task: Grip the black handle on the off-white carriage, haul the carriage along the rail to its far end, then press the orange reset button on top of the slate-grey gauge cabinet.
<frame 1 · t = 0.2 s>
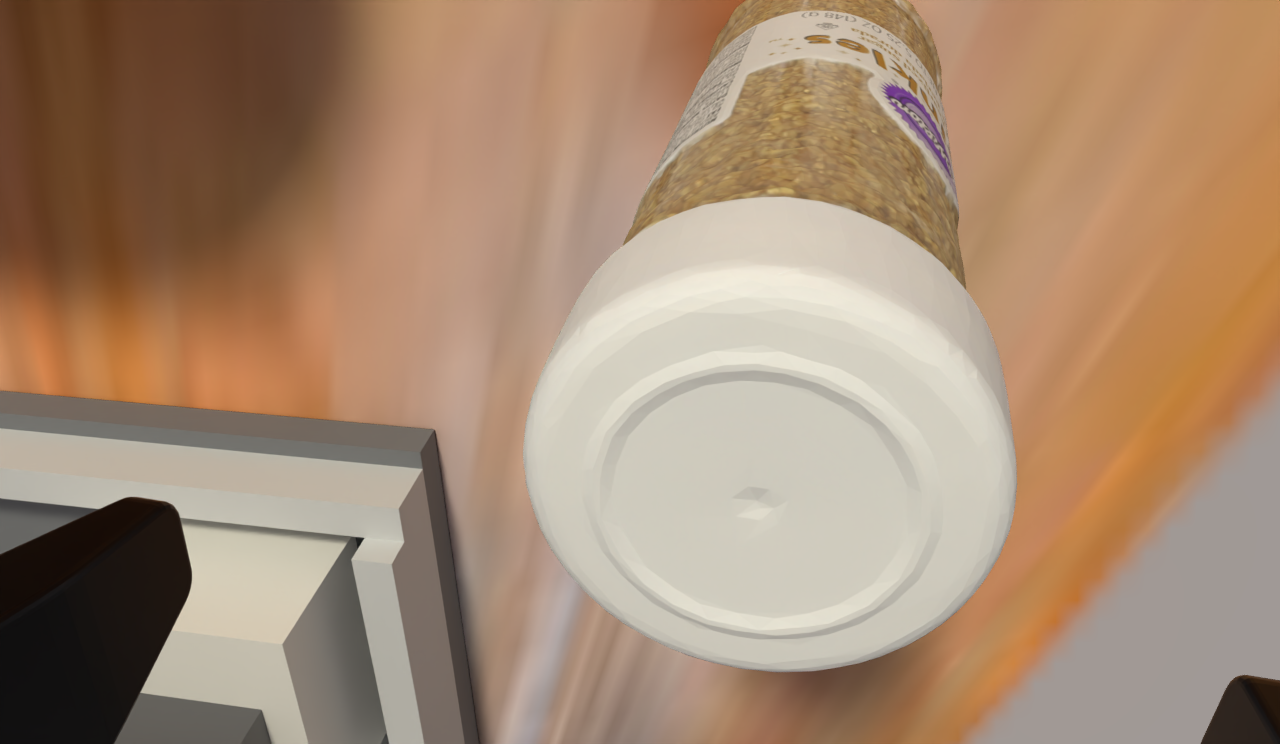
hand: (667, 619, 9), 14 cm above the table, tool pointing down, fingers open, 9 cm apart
rail track: (136, 569, 32), on the table
sprinkles bottle: (819, 82, 21), on the table
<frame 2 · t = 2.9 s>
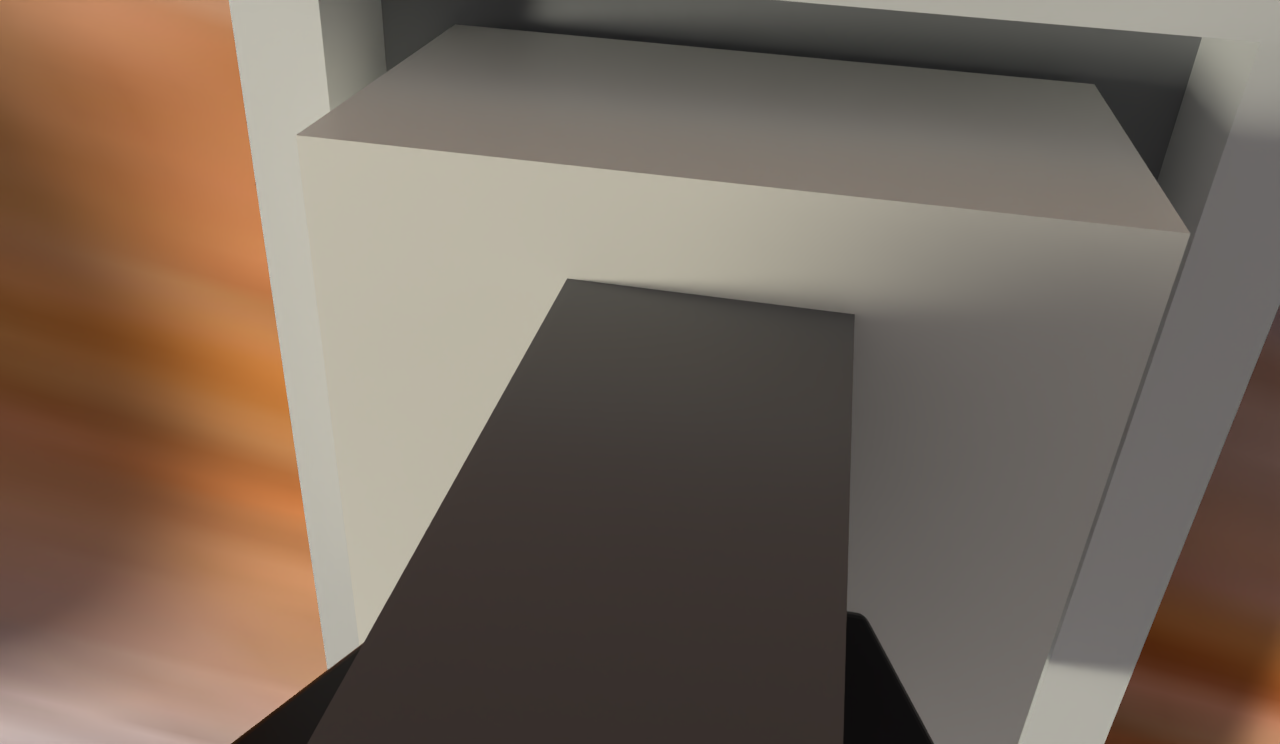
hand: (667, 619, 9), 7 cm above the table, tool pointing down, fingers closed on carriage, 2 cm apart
carriage: (679, 565, 10), point 6 cm above the table, slide at 0.0 cm, touching gripper
rail track: (716, 542, 17), on the table
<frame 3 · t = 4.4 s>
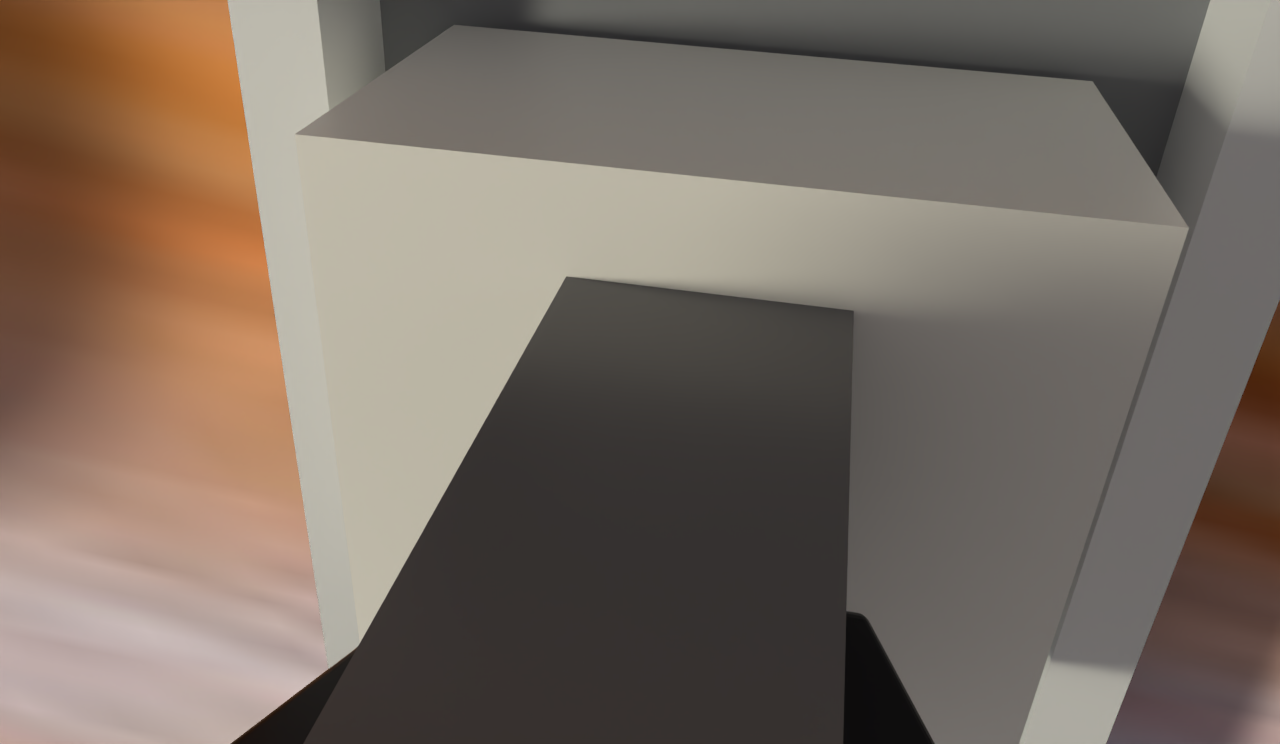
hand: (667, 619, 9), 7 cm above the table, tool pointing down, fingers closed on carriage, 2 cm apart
carriage: (680, 563, 10), point 6 cm above the table, slide at 4.7 cm, touching gripper
rail track: (744, 272, 15), on the table
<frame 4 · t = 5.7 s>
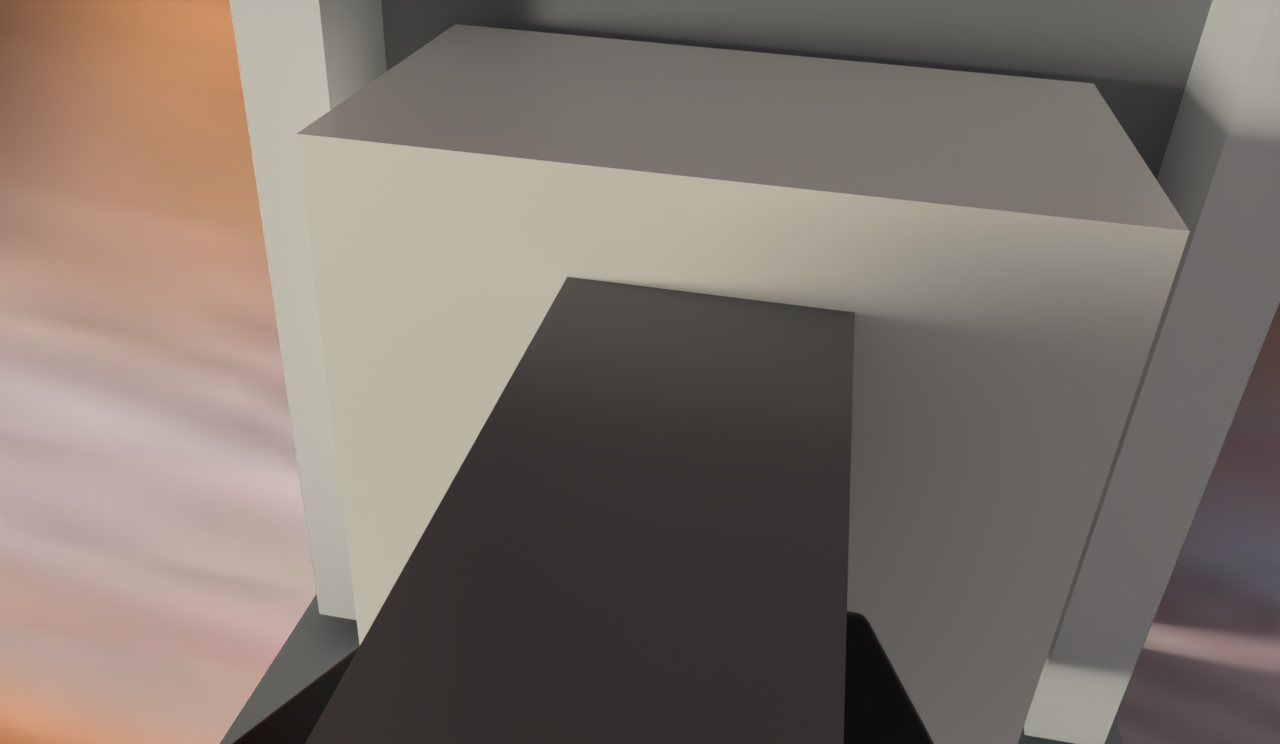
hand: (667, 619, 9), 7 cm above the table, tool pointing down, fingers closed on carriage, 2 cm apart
gauge cabinet: (698, 709, 19), on the table
carriage: (679, 564, 10), point 6 cm above the table, slide at 9.7 cm, touching gripper
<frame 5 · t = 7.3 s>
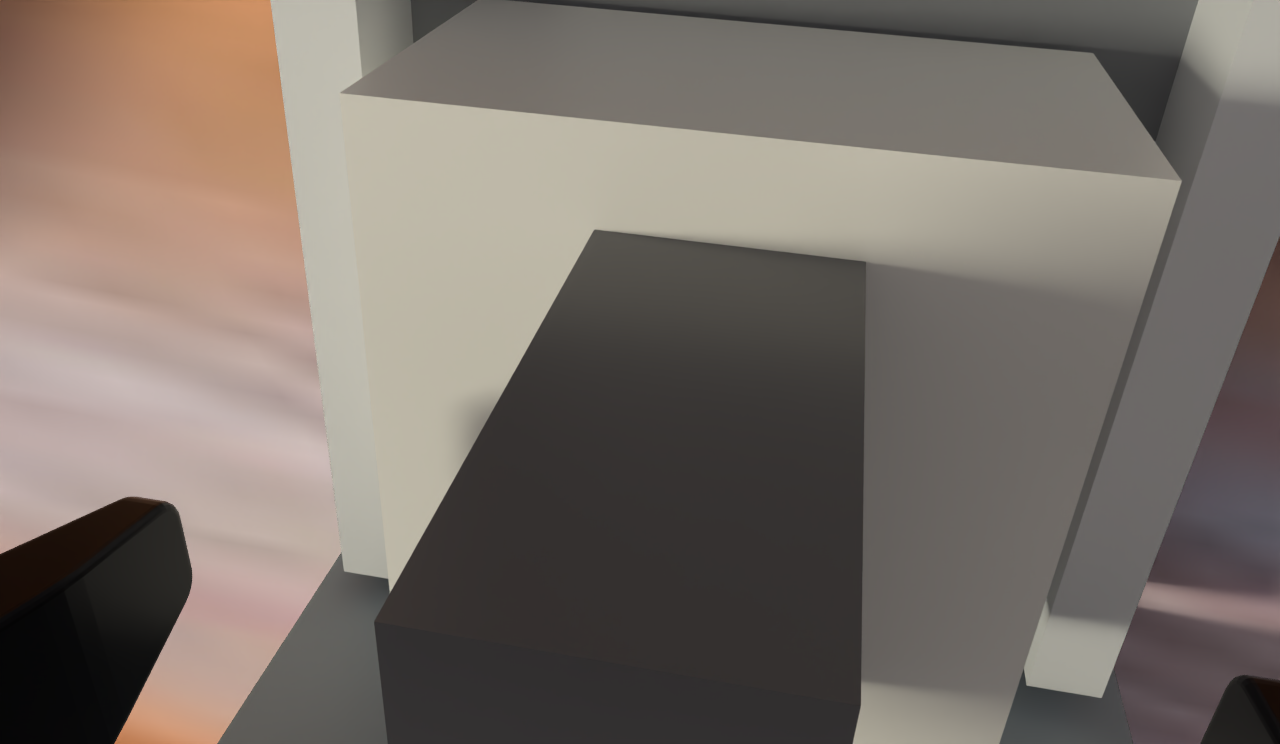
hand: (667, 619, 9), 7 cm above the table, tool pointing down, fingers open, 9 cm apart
gauge cabinet: (708, 670, 19), on the table
carriage: (698, 505, 10), point 6 cm above the table, slide at 9.7 cm
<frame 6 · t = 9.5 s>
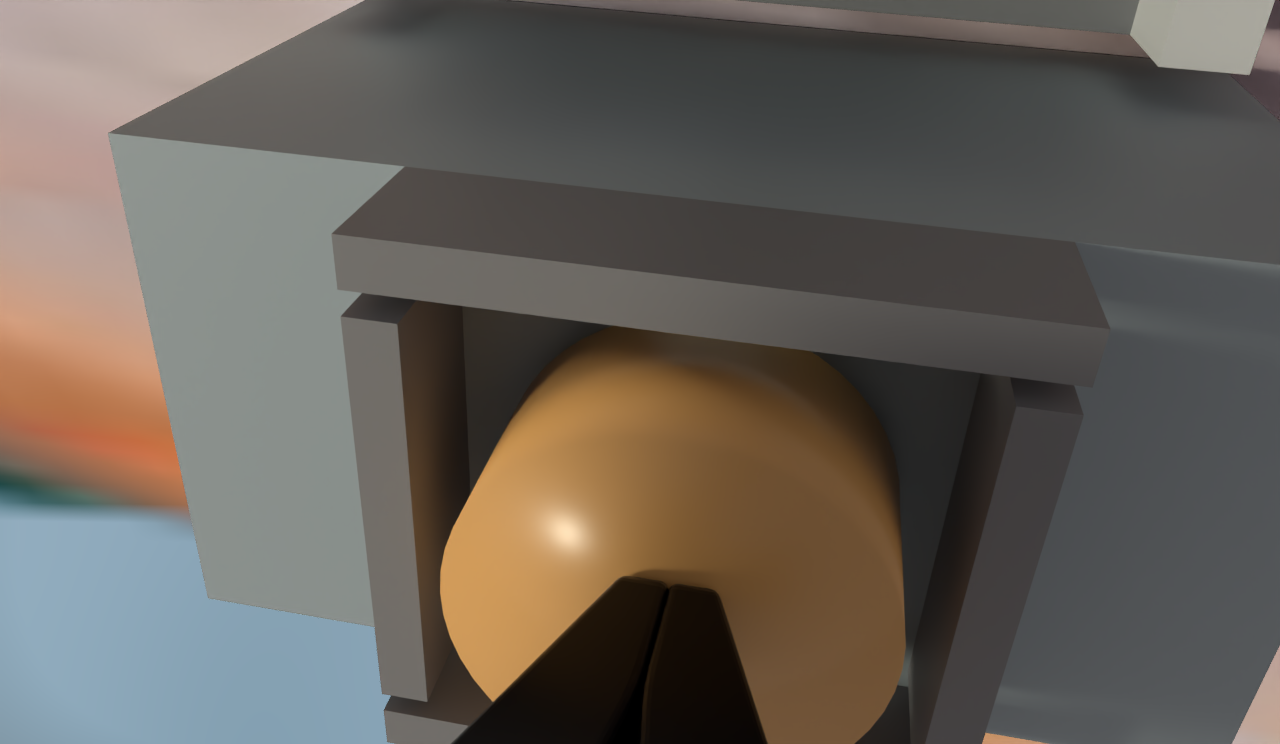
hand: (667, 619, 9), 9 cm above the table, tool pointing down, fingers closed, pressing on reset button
gauge cabinet: (759, 218, 17), on the table
reset button: (681, 554, 10), point 8 cm above the table, slide at 0.9 cm, touching gripper
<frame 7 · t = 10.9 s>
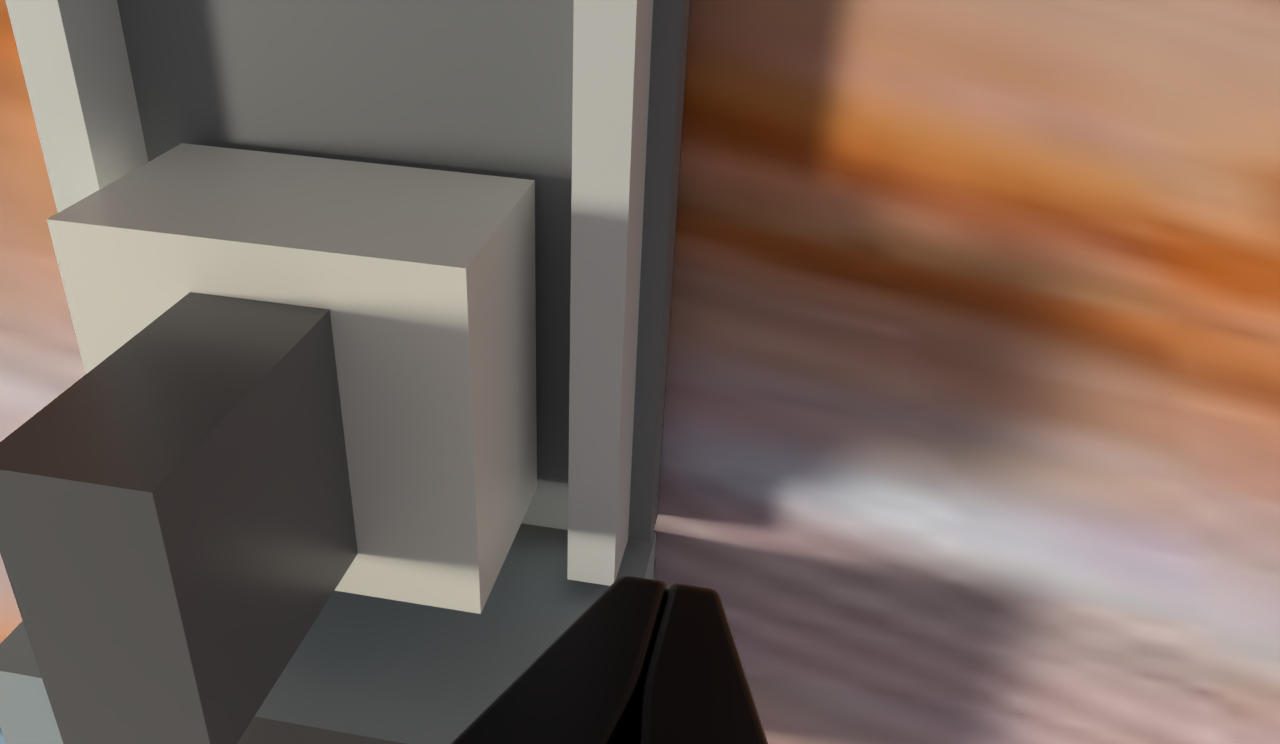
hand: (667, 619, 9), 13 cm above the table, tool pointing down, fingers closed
gauge cabinet: (417, 591, 27), on the table
carriage: (265, 446, 18), point 6 cm above the table, slide at 9.7 cm
rail track: (373, 51, 20), on the table
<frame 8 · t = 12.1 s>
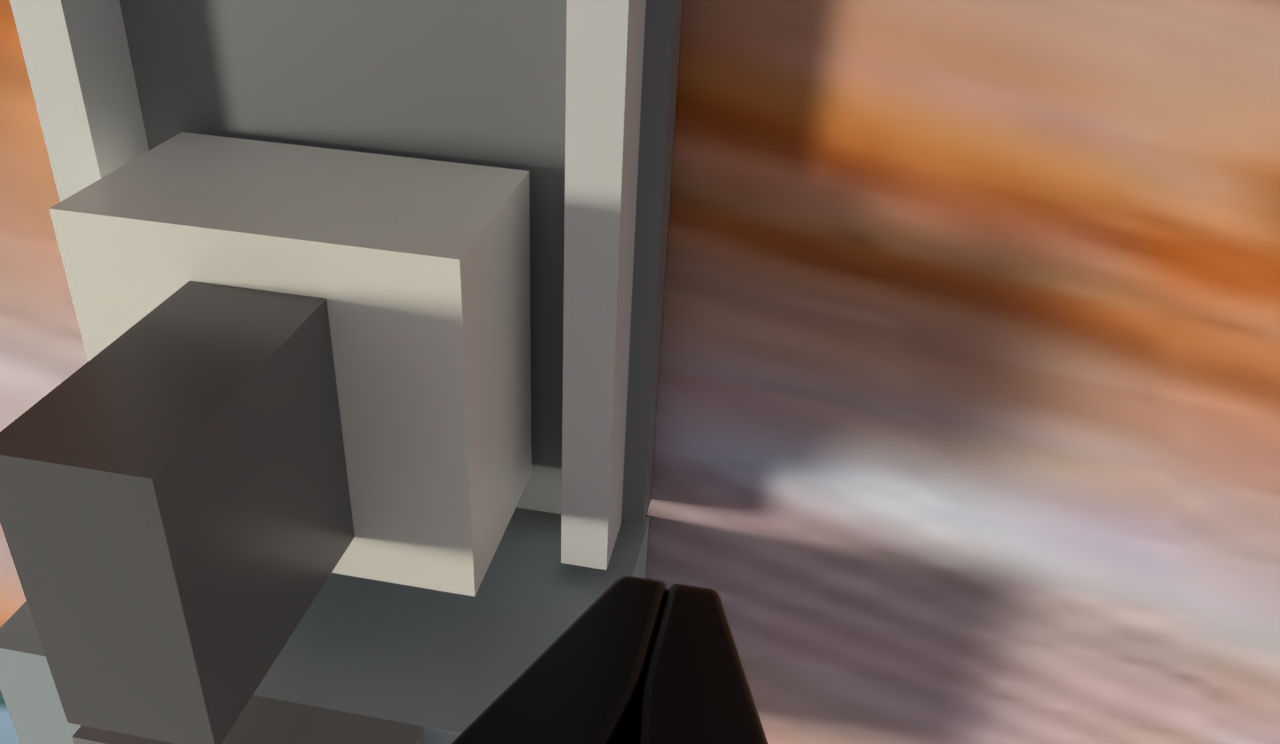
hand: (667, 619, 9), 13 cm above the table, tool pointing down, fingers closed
gauge cabinet: (414, 573, 28), on the table
carriage: (263, 432, 18), point 6 cm above the table, slide at 9.7 cm
rail track: (370, 42, 21), on the table
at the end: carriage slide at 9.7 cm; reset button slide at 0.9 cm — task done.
